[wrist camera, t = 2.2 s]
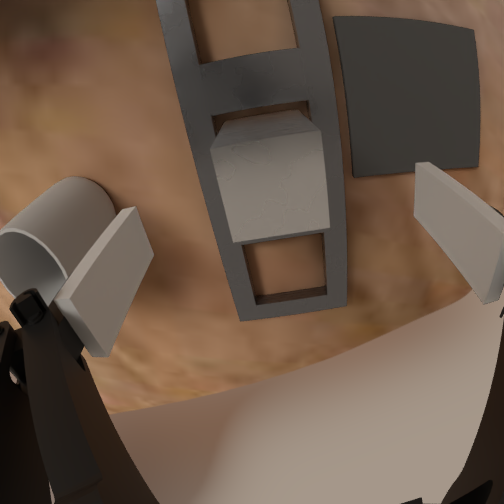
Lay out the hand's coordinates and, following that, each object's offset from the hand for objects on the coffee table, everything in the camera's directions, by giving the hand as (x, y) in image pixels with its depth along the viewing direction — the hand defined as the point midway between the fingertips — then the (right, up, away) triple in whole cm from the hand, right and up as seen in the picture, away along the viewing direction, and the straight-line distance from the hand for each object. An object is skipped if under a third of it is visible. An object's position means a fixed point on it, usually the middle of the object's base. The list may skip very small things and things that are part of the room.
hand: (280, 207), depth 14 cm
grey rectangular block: (0, +5, +8) cm, 9 cm away
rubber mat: (+11, +10, +5) cm, 15 cm away
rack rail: (0, +5, +8) cm, 9 cm away
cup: (-16, 0, +11) cm, 20 cm away
